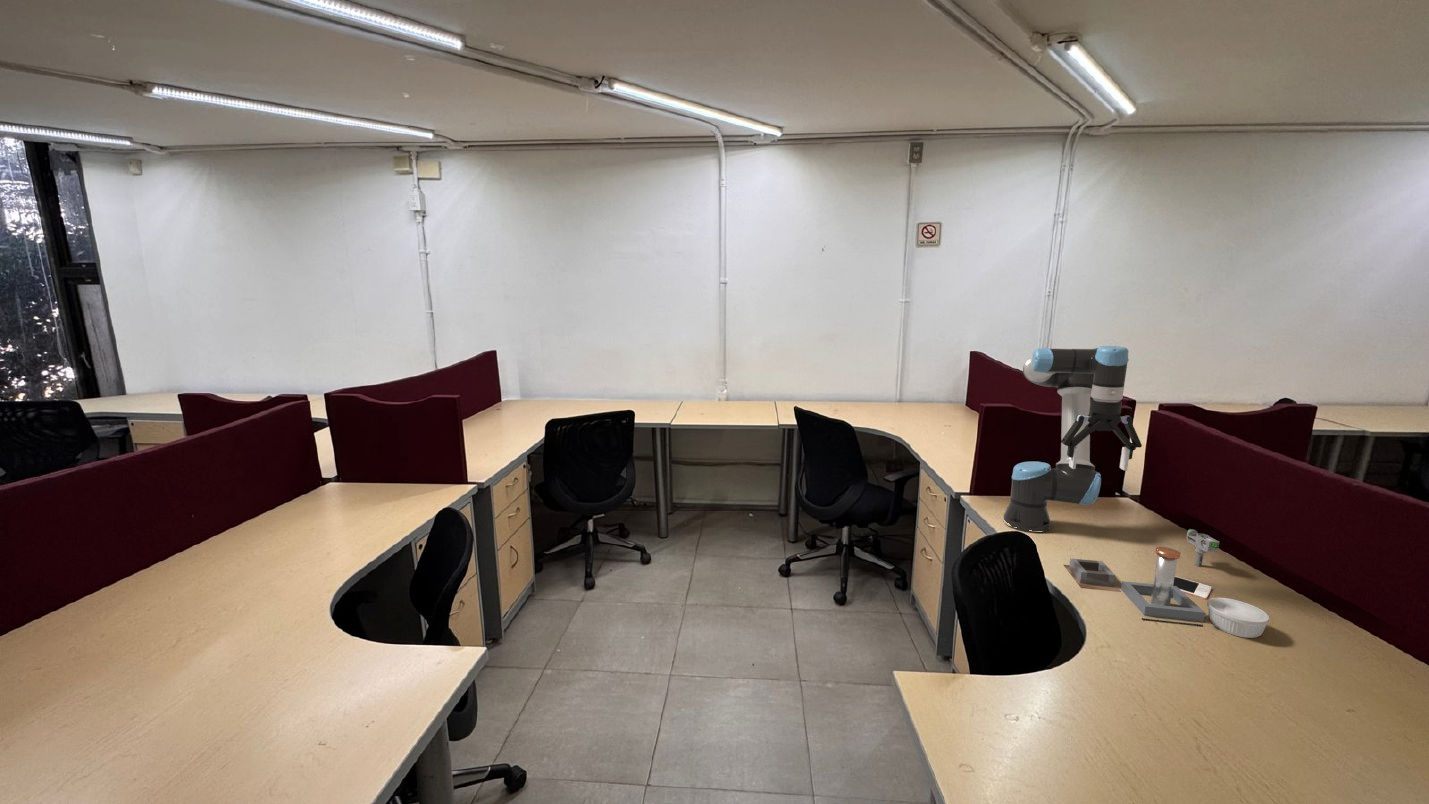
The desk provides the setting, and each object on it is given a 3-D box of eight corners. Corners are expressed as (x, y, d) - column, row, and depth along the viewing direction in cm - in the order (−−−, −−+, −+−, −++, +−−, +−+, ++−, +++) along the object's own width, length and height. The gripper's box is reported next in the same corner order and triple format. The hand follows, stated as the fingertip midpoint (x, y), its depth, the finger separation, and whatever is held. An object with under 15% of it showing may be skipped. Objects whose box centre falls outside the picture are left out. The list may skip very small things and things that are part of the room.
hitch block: (1062, 569, 168) (1064, 554, 167) (1099, 572, 165) (1101, 557, 164) (1080, 592, 154) (1082, 576, 153) (1120, 596, 152) (1122, 580, 151)
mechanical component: (1190, 557, 173) (1195, 528, 171) (1216, 573, 163) (1222, 543, 161) (1180, 557, 173) (1185, 528, 171) (1206, 573, 163) (1211, 542, 161)
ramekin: (1194, 613, 144) (1197, 595, 143) (1243, 617, 141) (1247, 599, 140) (1224, 639, 133) (1227, 619, 132) (1278, 643, 131) (1282, 624, 130)
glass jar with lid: (1144, 600, 148) (1152, 546, 145) (1165, 602, 147) (1174, 547, 144) (1153, 610, 143) (1162, 554, 140) (1176, 612, 142) (1184, 556, 139)
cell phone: (1206, 601, 150) (1206, 597, 149) (1126, 576, 163) (1127, 573, 163) (1211, 589, 155) (1212, 586, 155) (1134, 567, 169) (1134, 564, 168)
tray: (1120, 594, 153) (1122, 581, 152) (1174, 599, 150) (1176, 586, 149) (1143, 620, 141) (1145, 606, 140) (1202, 626, 138) (1205, 612, 137)
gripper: (1063, 401, 157) (1056, 470, 162) (1163, 403, 151) (1152, 474, 156) (1053, 396, 164) (1046, 462, 169) (1148, 397, 158) (1138, 465, 163)
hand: (1097, 468), depth 162 cm, fingers open, 13 cm apart
